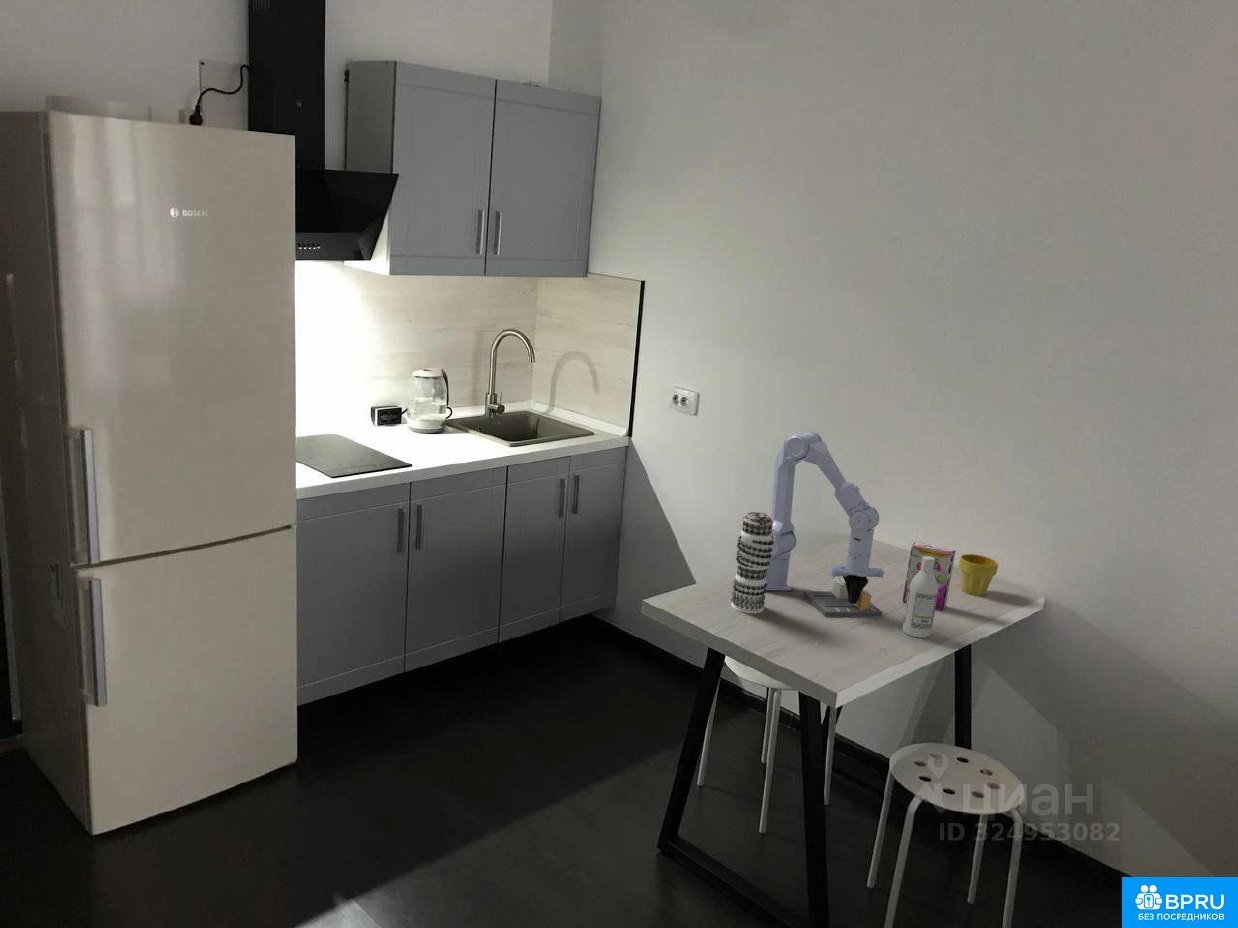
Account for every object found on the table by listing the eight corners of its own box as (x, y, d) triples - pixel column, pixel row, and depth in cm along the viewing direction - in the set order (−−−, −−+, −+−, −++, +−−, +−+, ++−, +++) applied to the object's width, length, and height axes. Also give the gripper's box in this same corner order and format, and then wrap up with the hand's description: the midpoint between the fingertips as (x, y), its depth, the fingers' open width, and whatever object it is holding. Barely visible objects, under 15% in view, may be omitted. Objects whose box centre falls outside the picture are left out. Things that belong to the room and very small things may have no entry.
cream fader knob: (838, 598, 276) (840, 584, 275) (831, 592, 280) (834, 578, 280) (847, 598, 277) (849, 584, 276) (840, 592, 281) (842, 578, 280)
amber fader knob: (860, 609, 270) (862, 594, 269) (852, 603, 274) (855, 588, 273) (869, 609, 270) (871, 594, 269) (861, 603, 275) (863, 588, 274)
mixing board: (825, 616, 266) (825, 611, 266) (802, 595, 280) (803, 591, 280) (882, 616, 270) (882, 612, 269) (857, 595, 284) (857, 591, 283)
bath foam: (936, 637, 259) (949, 561, 254) (915, 639, 255) (927, 563, 251) (917, 626, 265) (929, 552, 260) (896, 629, 262) (908, 554, 257)
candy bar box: (901, 602, 282) (910, 545, 278) (905, 597, 286) (914, 540, 283) (943, 611, 278) (953, 553, 274) (946, 606, 282) (956, 549, 278)
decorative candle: (770, 606, 269) (782, 514, 264) (757, 616, 261) (769, 522, 256) (737, 598, 273) (748, 507, 268) (724, 607, 265) (735, 514, 260)
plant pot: (987, 601, 289) (993, 568, 287) (950, 591, 295) (955, 558, 292) (996, 592, 298) (1002, 560, 295) (960, 583, 303) (966, 551, 301)
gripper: (839, 557, 263) (832, 607, 266) (891, 558, 266) (884, 608, 269) (828, 548, 269) (821, 597, 272) (879, 549, 273) (872, 598, 276)
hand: (851, 602), depth 271 cm, fingers closed
